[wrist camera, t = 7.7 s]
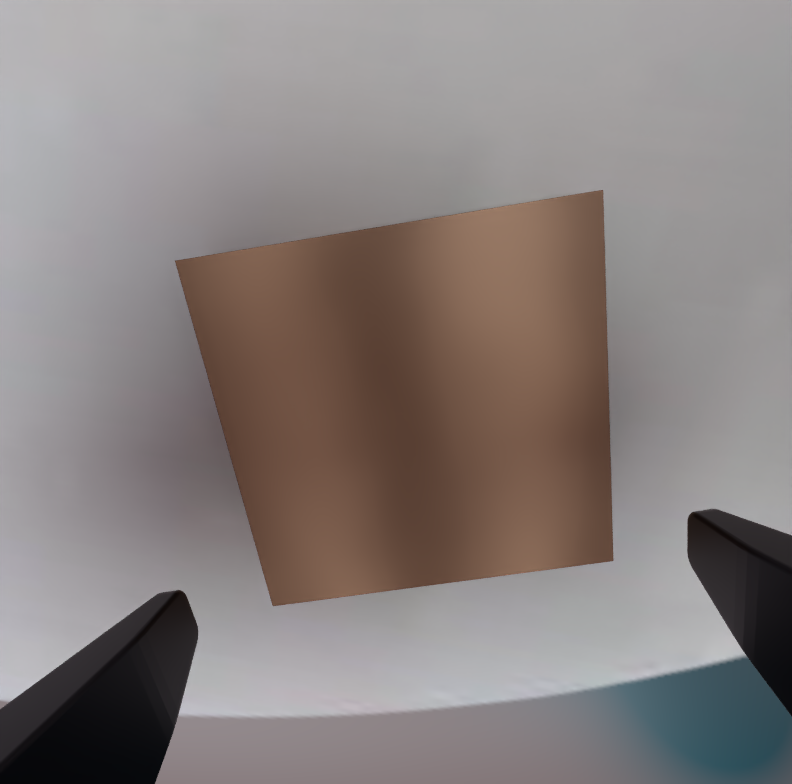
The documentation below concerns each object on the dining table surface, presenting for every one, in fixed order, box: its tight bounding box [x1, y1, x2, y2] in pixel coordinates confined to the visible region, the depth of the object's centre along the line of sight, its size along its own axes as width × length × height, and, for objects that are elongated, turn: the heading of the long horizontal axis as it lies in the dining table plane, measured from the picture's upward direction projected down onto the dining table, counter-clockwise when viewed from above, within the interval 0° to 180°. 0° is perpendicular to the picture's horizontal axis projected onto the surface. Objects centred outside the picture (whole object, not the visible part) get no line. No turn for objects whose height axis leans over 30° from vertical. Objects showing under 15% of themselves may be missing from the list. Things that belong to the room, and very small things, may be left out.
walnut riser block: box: [175, 190, 613, 606], centre depth 17 cm, size 12×12×3 cm
